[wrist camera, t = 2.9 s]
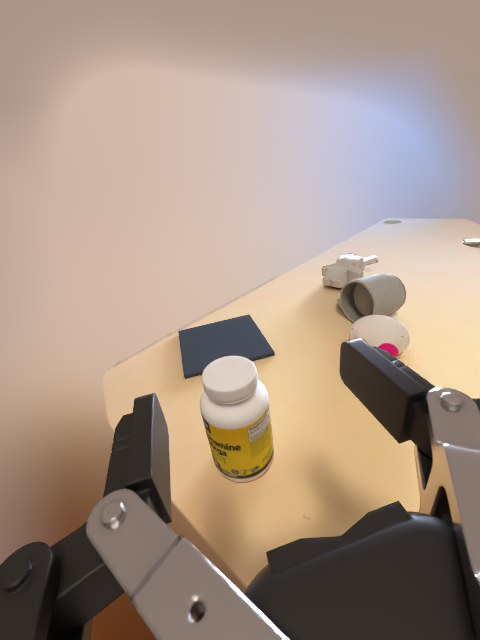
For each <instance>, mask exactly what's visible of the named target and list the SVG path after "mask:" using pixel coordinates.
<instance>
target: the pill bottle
mask: <svg viewBox="0 0 480 640" xmlns="http://www.w3.org/2000/svg"><path fill="white" fill-rule="evenodd" d="M202 382H203V387H204V392H203V394H202V396H201V400H200V409H201V414H202V418H203V422H204V425H205V429H206V433H207V437H208V440H209V444H210V448H211V452H212V456H213V459H214V462H215V465H216V467H217V469H218V471H219V472H220V473H221V474H222V475H223V476H224V477H226V478H227V479H229V480H231V481H235V482H249V481H252V480H255V479H257V478H258V477H260V476H261V475H263V474H264V473H265V472H266V471H267V470H268V468H269V467H270V465H271V463H272V460H273V454H274V450H273V437H272V428H271V418H270V409H269V399H268V393H267V390H266V388H265V386H264V385H263V384H262V383H261V382H260V381H259V380H258V377H257V370H256V367H255V365H254V363H253V362H252V361H250V360H249V359H247V358H244V357H240V356H226V357H222V358H219V359H217V360H214V361H213V362H211V363H210V364H209V365H208V366H207V367H206V368H205V369H204V371H203V373H202Z"/></svg>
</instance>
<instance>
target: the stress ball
mask: <svg viewBox="0 0 480 640" xmlns="http://www.w3.org/2000/svg"><path fill="white" fill-rule="evenodd" d="M349 336H350V340H354V339H357V338H361V339H363V340H364V341H365V342H367V343H368V344H369V345H370V346H372V347H373V346H375V347H378V348H380V349H383V350H385V351H388V352H389V353H390V354H392V355H393V356H396V355H398V354H400V353H402V352H403V351H404V350H405V349H406V348H407V346H408V343H409V334H408V331H407V329H406V328H405V326H404V325H403V324H402V323H400V322H399V321H397V320H396V319H394V318H391V317H388V316H384V315H369V316H365V317H362V318H360V319H358V320H357V321H356V322H355V323H354V324H353V325H352V327H351V329H350V332H349Z"/></svg>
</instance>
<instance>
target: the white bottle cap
mask: <svg viewBox="0 0 480 640" xmlns="http://www.w3.org/2000/svg"><path fill="white" fill-rule="evenodd" d="M463 243H464V244H480V239H464V240H463Z"/></svg>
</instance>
